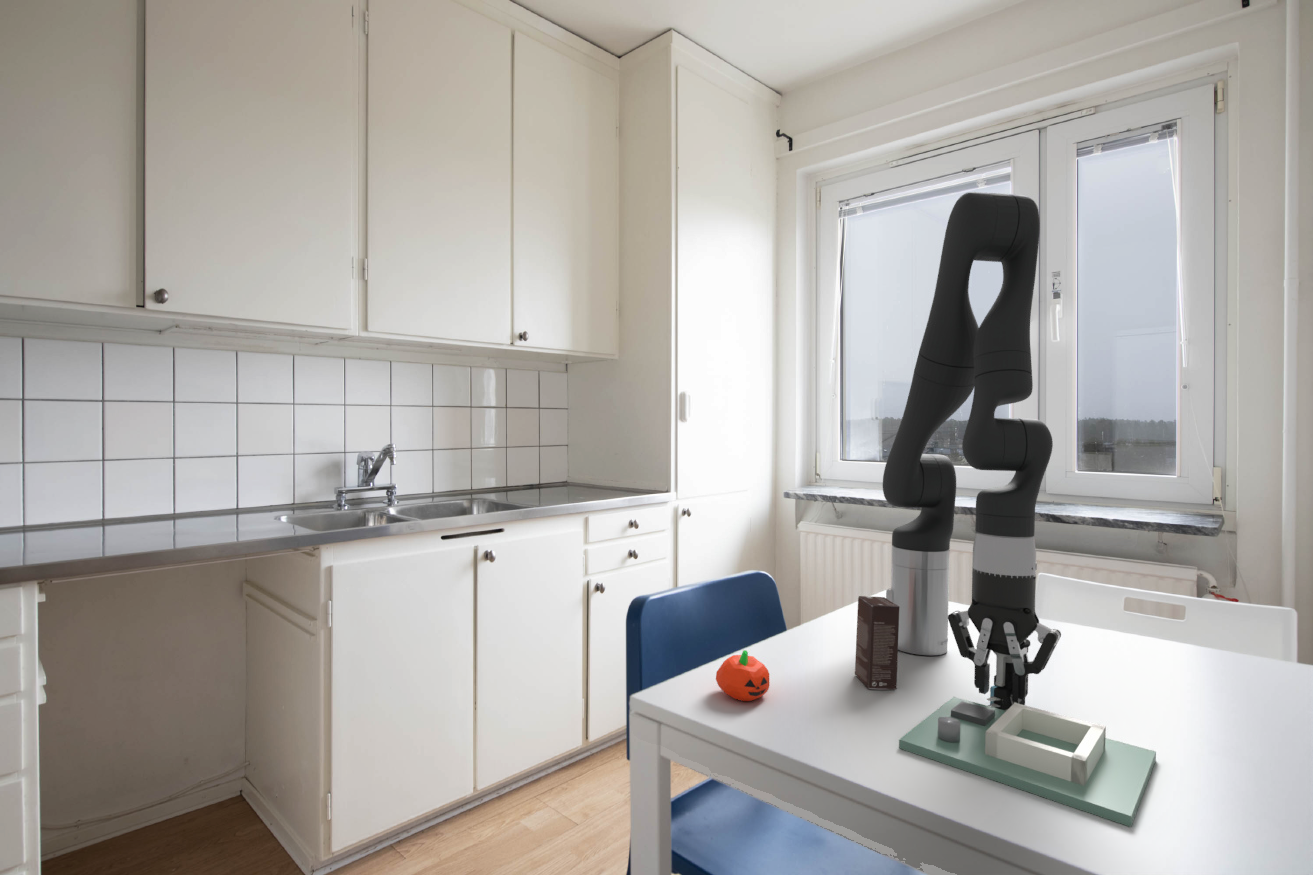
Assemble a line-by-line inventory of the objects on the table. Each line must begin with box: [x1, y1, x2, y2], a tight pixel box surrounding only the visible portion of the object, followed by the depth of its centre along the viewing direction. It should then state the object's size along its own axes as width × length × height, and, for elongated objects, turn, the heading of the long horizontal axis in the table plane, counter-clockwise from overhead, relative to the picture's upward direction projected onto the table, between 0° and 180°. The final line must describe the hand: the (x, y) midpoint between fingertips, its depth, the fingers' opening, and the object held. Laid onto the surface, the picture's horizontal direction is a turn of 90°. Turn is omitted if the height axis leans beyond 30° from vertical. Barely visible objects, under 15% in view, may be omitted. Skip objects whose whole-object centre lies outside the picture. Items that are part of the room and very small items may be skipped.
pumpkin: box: [715, 649, 770, 702], centre depth 92 cm, size 7×8×6 cm
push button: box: [986, 638, 1031, 711], centre depth 90 cm, size 7×5×10 cm
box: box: [854, 595, 900, 691], centre depth 98 cm, size 6×4×12 cm
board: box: [898, 696, 1157, 828], centre depth 76 cm, size 22×18×4 cm
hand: (1000, 695), depth 89 cm, fingers open, 3 cm apart
